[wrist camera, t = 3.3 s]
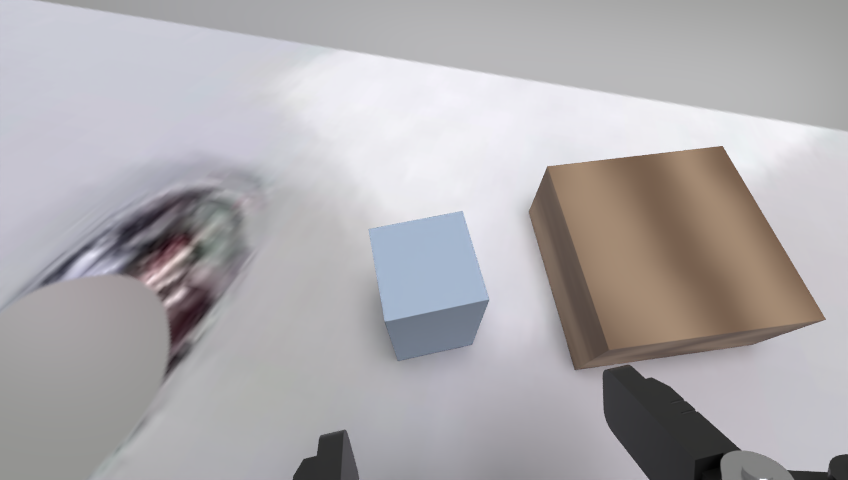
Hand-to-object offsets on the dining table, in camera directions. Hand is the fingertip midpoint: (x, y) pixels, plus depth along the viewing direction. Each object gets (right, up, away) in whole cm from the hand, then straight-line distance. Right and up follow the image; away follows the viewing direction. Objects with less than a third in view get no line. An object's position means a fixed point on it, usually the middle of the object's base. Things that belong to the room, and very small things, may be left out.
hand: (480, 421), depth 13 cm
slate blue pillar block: (-1, 0, +16) cm, 16 cm away
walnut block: (+13, +3, +17) cm, 22 cm away
